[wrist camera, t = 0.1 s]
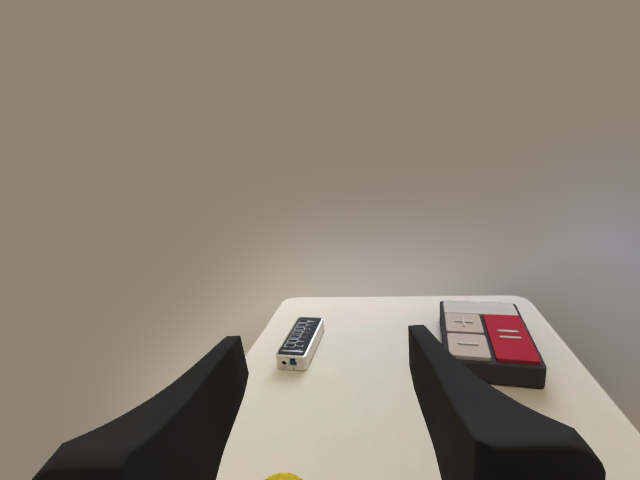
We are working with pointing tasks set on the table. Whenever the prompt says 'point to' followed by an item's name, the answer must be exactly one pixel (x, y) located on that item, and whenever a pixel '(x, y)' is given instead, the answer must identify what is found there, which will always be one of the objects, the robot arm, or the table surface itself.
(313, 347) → the multiport hub
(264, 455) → the table surface
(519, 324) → the button control box
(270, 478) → the lemon
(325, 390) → the table surface
